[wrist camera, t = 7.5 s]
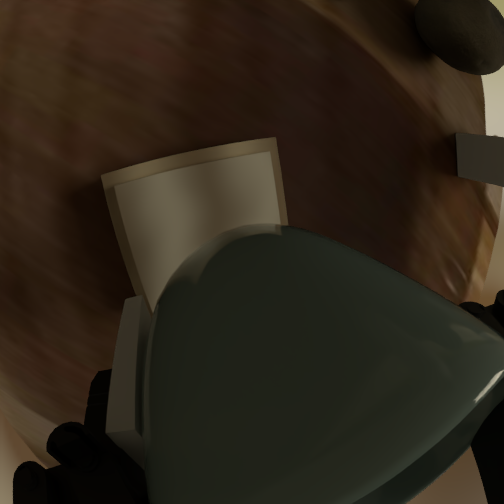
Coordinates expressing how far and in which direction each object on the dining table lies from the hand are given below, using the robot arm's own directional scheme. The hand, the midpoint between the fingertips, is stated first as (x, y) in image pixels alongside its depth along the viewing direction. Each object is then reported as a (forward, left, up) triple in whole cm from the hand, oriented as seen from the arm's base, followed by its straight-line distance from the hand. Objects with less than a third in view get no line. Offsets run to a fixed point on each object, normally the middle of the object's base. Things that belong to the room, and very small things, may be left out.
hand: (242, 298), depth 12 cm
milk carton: (+43, +3, -15) cm, 46 cm away
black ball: (+36, +22, -15) cm, 45 cm away
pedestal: (0, 0, -15) cm, 15 cm away
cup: (0, 0, 0) cm, 0 cm away
